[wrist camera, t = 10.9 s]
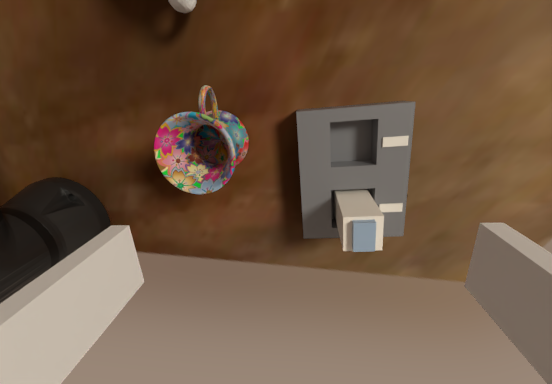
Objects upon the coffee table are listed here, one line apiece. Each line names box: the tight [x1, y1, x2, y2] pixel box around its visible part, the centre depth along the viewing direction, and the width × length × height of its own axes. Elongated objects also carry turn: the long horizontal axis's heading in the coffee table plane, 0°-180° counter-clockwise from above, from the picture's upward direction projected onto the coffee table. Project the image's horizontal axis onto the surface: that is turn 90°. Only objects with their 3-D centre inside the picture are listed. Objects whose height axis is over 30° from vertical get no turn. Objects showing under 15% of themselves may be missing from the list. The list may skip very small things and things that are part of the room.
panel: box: [296, 101, 415, 239], centre depth 37 cm, size 14×18×4 cm
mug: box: [154, 85, 249, 194], centre depth 34 cm, size 12×9×11 cm
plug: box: [334, 189, 384, 252], centre depth 34 cm, size 4×4×11 cm
